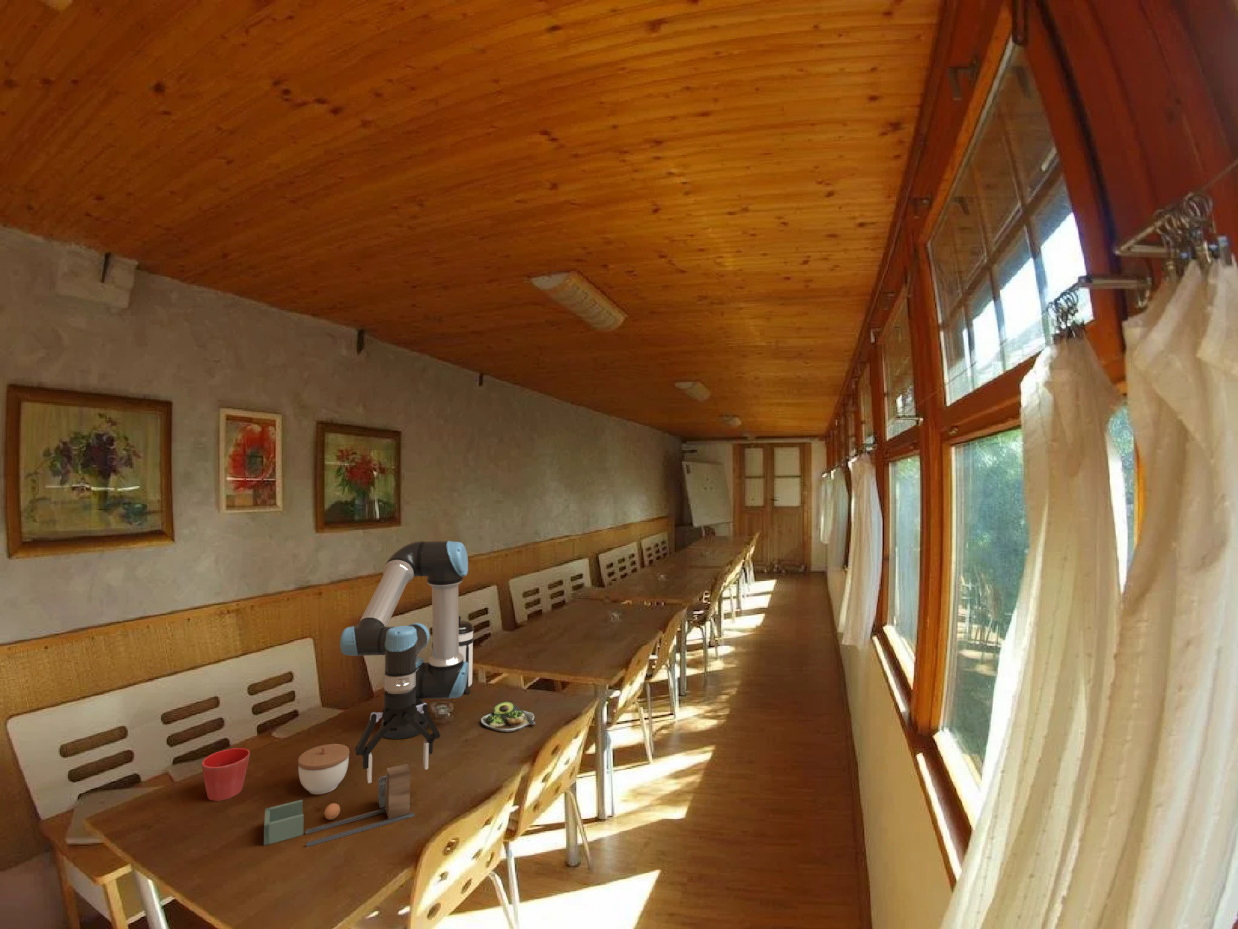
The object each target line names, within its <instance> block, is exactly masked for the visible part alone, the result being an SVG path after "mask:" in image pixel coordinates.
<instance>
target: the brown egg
mask: <svg viewBox="0 0 1238 929" xmlns="http://www.w3.org/2000/svg"><path fill="white" fill-rule="evenodd" d="M340 813H341V807H340V805H339V804H338V803H335V802H333V803H330V804H329V805H327V806H326V808H325V809H324V817H325V818H326V819H327V820H330V821H331V820H335V819H336V818H337V817H338V816H339V814H340Z"/></svg>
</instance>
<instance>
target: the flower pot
mask: <svg viewBox="0 0 1238 929" xmlns="http://www.w3.org/2000/svg"><path fill="white" fill-rule="evenodd" d="M250 755H251V751H250V750H249V749H247V748H243V747H242V748H241V747H233V748H227V749H224V750H220V751H216V752H214V753H212V754H210V755H208V756H207V757H204V759H203V760H202V762H201V768H202V773H203V774H202V775H203V781H204V786H205V790H206V795H207V799H208V800H209V801H215V802H216V801H217V802H219V801H224V800H229V799H231V798H233V797H235V796H237V795H239V794H240V793H241V792H242V790H243V787H244V783H245V779H246V774H247V769H248V765H249V760H250Z"/></svg>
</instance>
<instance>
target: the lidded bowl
mask: <svg viewBox="0 0 1238 929" xmlns="http://www.w3.org/2000/svg"><path fill="white" fill-rule="evenodd" d="M349 757H350V748H349V747H348V746H347V745H345V744H340V743H328V744H322V745H317V746H315V747H312V748H310V749H308V750H306V751H304V752H303V753H301V755H299V757H298V760H297V765H298V777H299V778H298V779H299V782H300V784H301V786H302V787H303V788H304V789H305V790H306V791H308V792H309V794H311V795H323V794H327V793H330V792H333V791H334V790H335V789H337V788H338V785H339V784H340V783H341V782H342V781H343V779H344V778H345V776H346V775H347V772H348V771H347V770H348V767H349V760H350V759H349Z"/></svg>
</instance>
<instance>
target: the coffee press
mask: <svg viewBox="0 0 1238 929" xmlns="http://www.w3.org/2000/svg"><path fill="white" fill-rule="evenodd" d="M474 630H475V627H474V626H473V623H472V622H470V621H468V620H462V617H461V616H460V615H459V653H461V654H462V655H463V661H464V662H465V661H466V662H468V664H469V670H468V677H467V682H466V686H465V690H464V692H463V693H465V695H469V694H470V693H471V690H470V687H471V686H472V685H473V664H474V662H473V661H474V660H473V659H474V658H473V657H474V656H473V655H474V654H473V651H474V646H473V645H474Z"/></svg>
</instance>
